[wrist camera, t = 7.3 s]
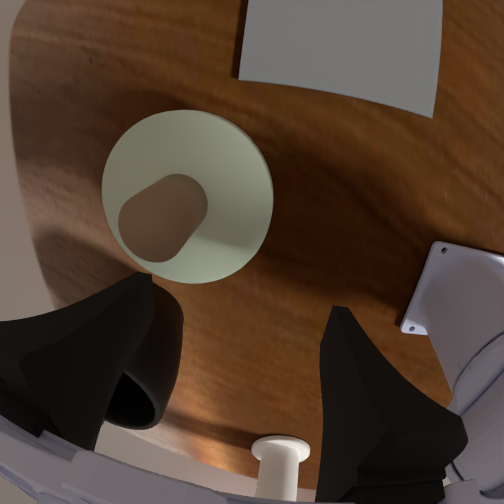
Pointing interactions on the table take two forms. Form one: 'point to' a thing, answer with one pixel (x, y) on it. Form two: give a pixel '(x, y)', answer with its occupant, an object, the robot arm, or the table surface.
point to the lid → (188, 195)
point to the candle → (279, 466)
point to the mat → (347, 48)
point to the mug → (150, 369)
